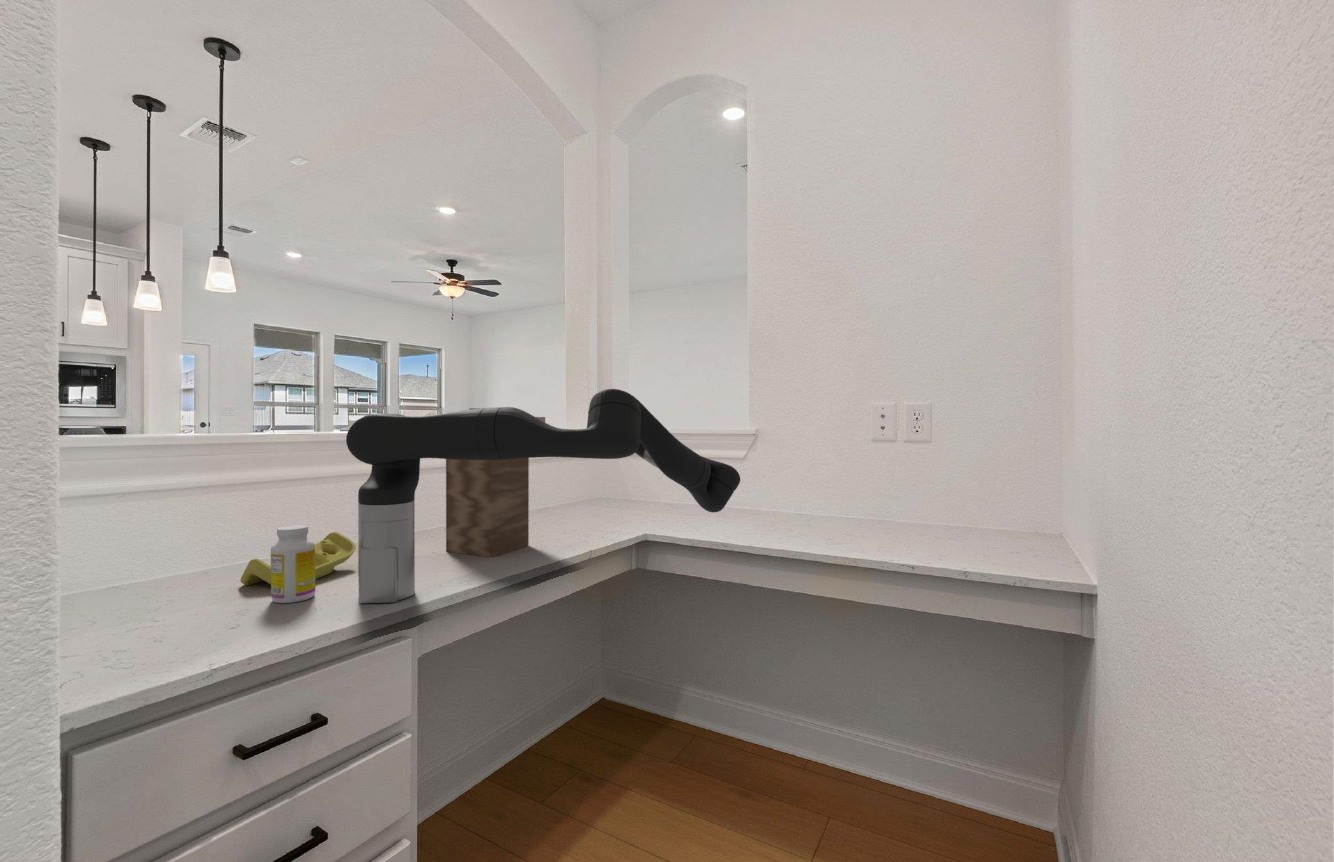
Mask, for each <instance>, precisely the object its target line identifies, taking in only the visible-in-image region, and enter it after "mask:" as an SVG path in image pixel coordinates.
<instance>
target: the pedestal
mask: <svg viewBox="0 0 1334 862" xmlns="http://www.w3.org/2000/svg"><path fill="white" fill-rule="evenodd" d="M529 460H530V458H517V459H503V460H455V459H445V548H446V549H445V551H446V553H447V552H448V553H454V554H463V555H470V556H479V557H486V556H487V557H488V558H494V557H497V556H500V555H503V554H506V553H509V552H508V551H510V552H513V551H515V549H516V550H518V549H522V548H525V547H528V546H527V545H529V534H530V533H529V529H530V528H529V521H530V520H529V517H530V516H529V511H530V510H529V508H530V506H529V505H530V504H529V502H530V501H529V499H530V498H529V497H530V496H529V495H530V491H529V488H530V486H529V481H530V480H529V479H530V478H529V477H530V476H529V472H530V471H529V469H530V468H529V467H530V464H529ZM521 547H522V548H521ZM493 556H494V557H493ZM487 557H486V558H487Z"/></svg>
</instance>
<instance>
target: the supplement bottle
mask: <svg viewBox="0 0 1334 862" xmlns="http://www.w3.org/2000/svg"><path fill="white" fill-rule="evenodd" d="M308 533H309V526H308V525H304V524H303V525H302V524H297V525H295V524H294V525H286V526H281V527H277V528H276V536H277V537H278V541H277V542H275V543H274V544H272V545H271V547H270V565H271V584H270V595H271V600H272V601H273V602H274V603H276V604H293V603H298V602H302V601H303V602H304V601H307V600H309V599H311V598H313V597H314V596H315V595H316V579H315V545H314V544H315V542H314V541H313V540H311V539H309V538H308Z"/></svg>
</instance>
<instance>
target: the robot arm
mask: <svg viewBox="0 0 1334 862" xmlns="http://www.w3.org/2000/svg"><path fill="white" fill-rule="evenodd" d="M587 414H588V415H587V424H586V428H580V429H572V428H571V429H569V428H560V427H555V426H553V425H550V423H546V421H545V422H543V421H541V420H539V419H538V418H536V417H537V416H534V415H533V414H531V413H529V412H527V411H524V410H523V409H520V408H518V407H511V406H502V407H501V406H500V407H499V406H497V407H483V408H482V407H481V409H472V410H469V409H464V410H458V411H450V412H444V413H438V414H432V415H431V414H430V415H422V416H421V415H420V416H418V415H417V416H416V415H415V416H411V415H410V416H409V415H407V416H406V415H404V414H401V413H400V414H399V413H380V412H379V413H377V412H376V413H369V414H367V415H364V416H362V417H360V418H358V419H357V420H356V421H354V423H353V424H352V425H351V426H350V427H349V429H348V431H347V433H346V438H345V441H346V447H347V449H348V451H349V452H350V454H351V455H352V456H354V458H355V459H357V460H358V461H359V462H362V463H365V464H366V465H367V464H368V465H370V466H371V470H370V471H371V472H370V475H369V477H368V479H367V480H366V481H365V482H364V483H363V484H362V485H361V486H360V487H359V489H358V494H357V495H358V496H357V502H358V505H357V506H358V508H357V509H358V510H357V512H358V519H357V523H358V524H357V528H358V533H357V534H358V535H357V536H358V539H357V541H358V546H357V547H358V549H357V551H358V561H357V562H358V568H357V569H358V573H357V575H358V577H357V578H358V601H359V604H379V603H380V604H382V603H383V604H384V603H397V602H398V601H400V600H403V599H407V598H409V597H411V596H413V595H414V594H415V592H416V591H415V590H416V585H415V583H416V581H415V579H416V578H415V577H416V575H415V574H416V572H415V571H416V570H415V569H416V568H415V567H416V566H415V564H416V563H415V557H416V556H415V547H416V546H415V540H416V539H415V497H416V495H415V494H416V490H417V488H418V484H419V482H420V469H421V459H442V460H443V459H444V460H446V459H455V460H503V459H517V458H529V459H530V458H532V459H533V458H535V459H536V458H572V459H574V458H576V459H578V458H579V459H597V460H598V459H599V460H600V459H601V460H604V459H605V460H616V459H617V460H618V459H623V458H628V457H631V456H633V455H634V454H636V455H638V457H640V458H641V459H643V460H644V461H646V462H647V463H648V464H650V465H651V466H653V467H655V468H658V470H659V471H660V472H662V474H663V475H665V476H666V477H667V478H668V479H670V480H671V481H673V482H675V483H677V484H678V485H679V486H682V487H683V488H685V490H687V491H688V492H689V493H690V494H691V496H692V497H693V499H694V500H695V502H696V503H697V504H698V505H699V506H700V507H701V508H702V509H703V510H705V511H706V512H708V513H718V512H721V511H722V510H723V509H724V508H725V507H726V505H727V504H728V502H729V500H730V499H731V498H732V496H733V494H734V492H735V491H736V490H737V488H738V487H739V484H740V483H741V475H740V473H739V472H738V470H737V469H736V468H735V467H733V466H732V465H730V464H726V463H724V462H720V461H717V460H713V459H710V458H707V457H704V456H702V455H700V454H698V453H697V452H695V450H693V449H691V448H689V447H688V446H686V445H685V444H684V443H682V442H681V441H680V440H679V439H678V438H676V437H675V436H674V435H673V434H672V433H671V431H669V430H668V429H667V427H665V426H664V425H663V423H662V422H660V421H659V419H657V417H655V416H654V415H653V413H651V412H650V411H649V410H648V408H647V407H646V406H645V405H644V404H643V403H642V402H641V401H640V400H638V398H637V397H636V396H634V395H632V394H631V393H629V392H627V391H624V390H622V389H619V388H618V389H616V388H606V389H602V390H600V391H598V392H596V393H594V395H593V396H592V398H591V400H590V402H589V407H588V412H587Z"/></svg>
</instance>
